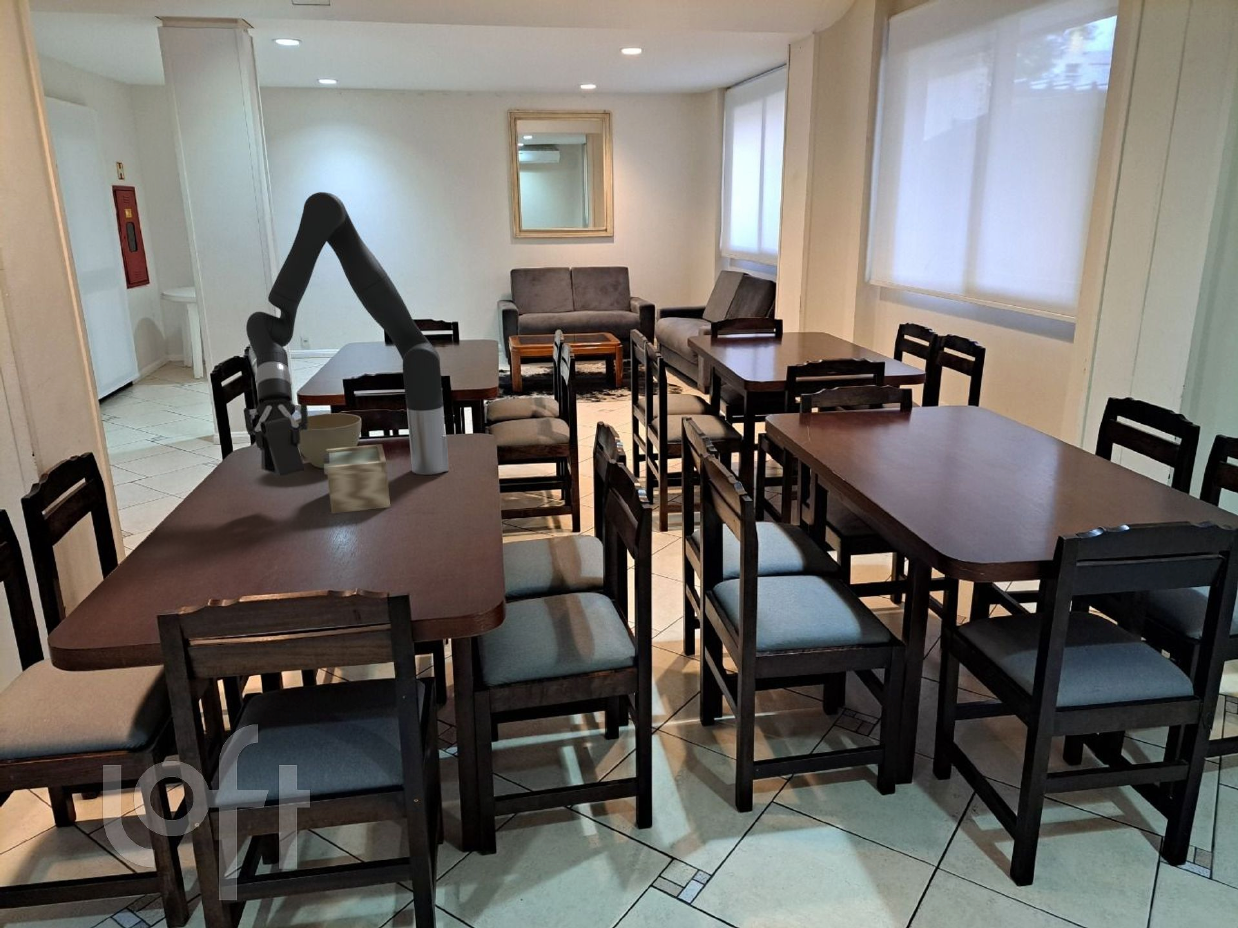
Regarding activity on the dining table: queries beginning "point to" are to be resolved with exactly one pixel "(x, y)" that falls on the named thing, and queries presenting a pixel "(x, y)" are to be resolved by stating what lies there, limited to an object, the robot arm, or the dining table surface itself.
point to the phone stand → (279, 447)
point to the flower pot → (328, 435)
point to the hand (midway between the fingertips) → (278, 446)
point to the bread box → (357, 478)
